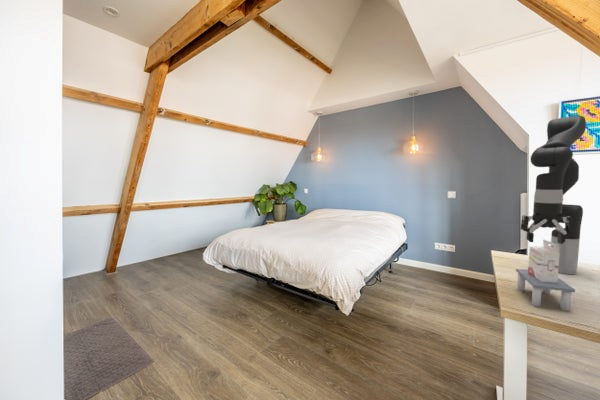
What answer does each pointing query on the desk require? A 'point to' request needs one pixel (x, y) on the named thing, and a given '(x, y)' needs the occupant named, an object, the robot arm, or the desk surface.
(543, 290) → the grey toy table
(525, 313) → the desk surface
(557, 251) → the ink cartridge box
